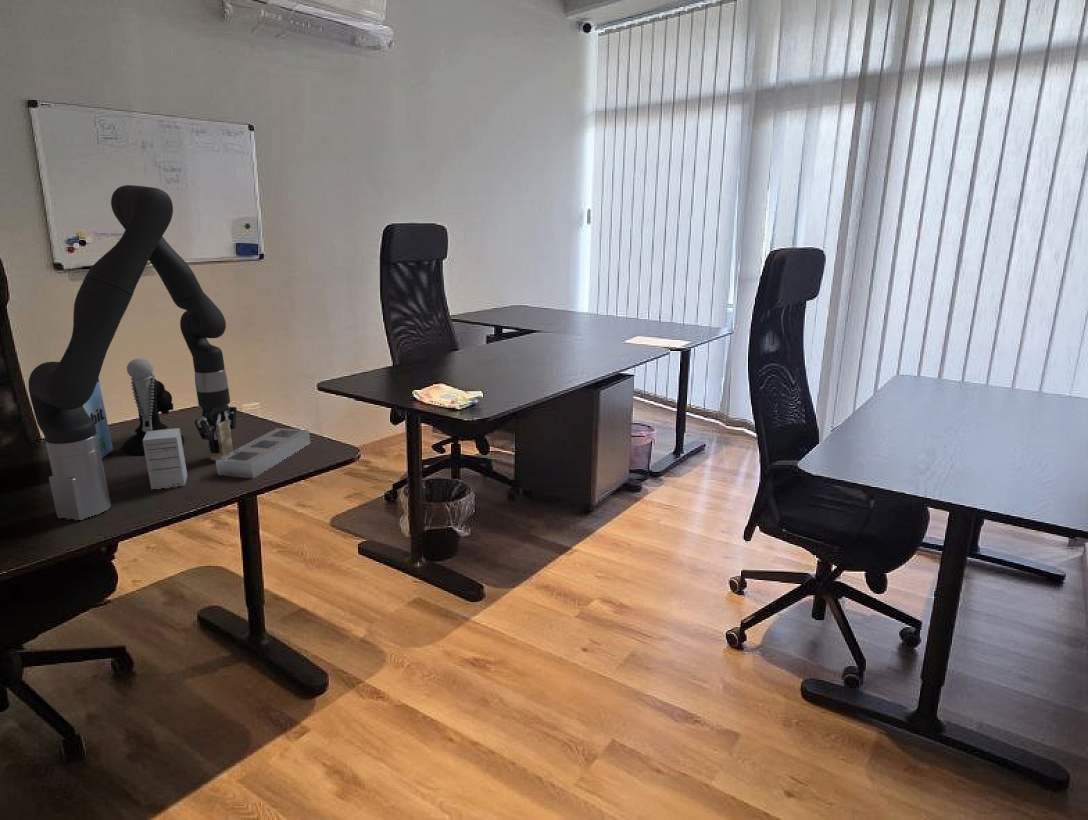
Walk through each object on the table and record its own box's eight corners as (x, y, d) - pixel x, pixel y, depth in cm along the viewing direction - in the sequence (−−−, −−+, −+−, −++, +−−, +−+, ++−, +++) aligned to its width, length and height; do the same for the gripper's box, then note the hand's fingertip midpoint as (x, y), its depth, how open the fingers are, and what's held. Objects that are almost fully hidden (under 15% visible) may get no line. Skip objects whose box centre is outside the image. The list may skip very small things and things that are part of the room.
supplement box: (154, 479, 172) (146, 430, 168) (188, 475, 174) (180, 427, 171) (150, 490, 165) (141, 440, 162) (185, 486, 168) (177, 436, 164)
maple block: (224, 461, 184) (218, 424, 181) (210, 459, 185) (205, 423, 182) (233, 455, 188) (228, 420, 185) (220, 454, 189) (215, 419, 186)
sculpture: (115, 457, 187) (97, 365, 180) (140, 430, 209) (125, 348, 202) (177, 452, 191) (163, 362, 184) (195, 426, 213) (183, 345, 206)
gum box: (80, 476, 174) (61, 386, 168) (57, 477, 174) (38, 387, 167) (114, 449, 193) (98, 368, 186) (94, 450, 192) (77, 369, 186)
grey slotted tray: (253, 478, 172) (251, 463, 171) (217, 475, 175) (215, 459, 174) (310, 444, 197) (309, 430, 196) (278, 441, 199) (277, 428, 198)
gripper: (206, 395, 173) (215, 460, 178) (242, 381, 187) (250, 442, 192) (180, 393, 175) (190, 458, 180) (217, 379, 188) (226, 440, 193)
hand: (221, 449), depth 186 cm, fingers closed on maple block, 4 cm apart
